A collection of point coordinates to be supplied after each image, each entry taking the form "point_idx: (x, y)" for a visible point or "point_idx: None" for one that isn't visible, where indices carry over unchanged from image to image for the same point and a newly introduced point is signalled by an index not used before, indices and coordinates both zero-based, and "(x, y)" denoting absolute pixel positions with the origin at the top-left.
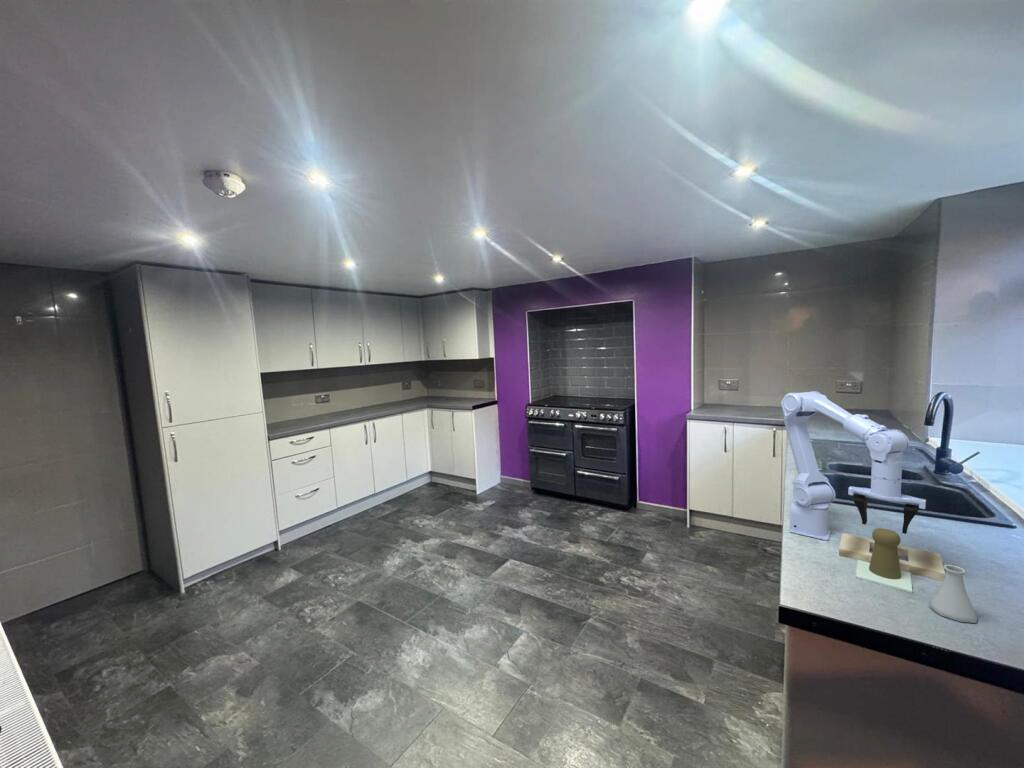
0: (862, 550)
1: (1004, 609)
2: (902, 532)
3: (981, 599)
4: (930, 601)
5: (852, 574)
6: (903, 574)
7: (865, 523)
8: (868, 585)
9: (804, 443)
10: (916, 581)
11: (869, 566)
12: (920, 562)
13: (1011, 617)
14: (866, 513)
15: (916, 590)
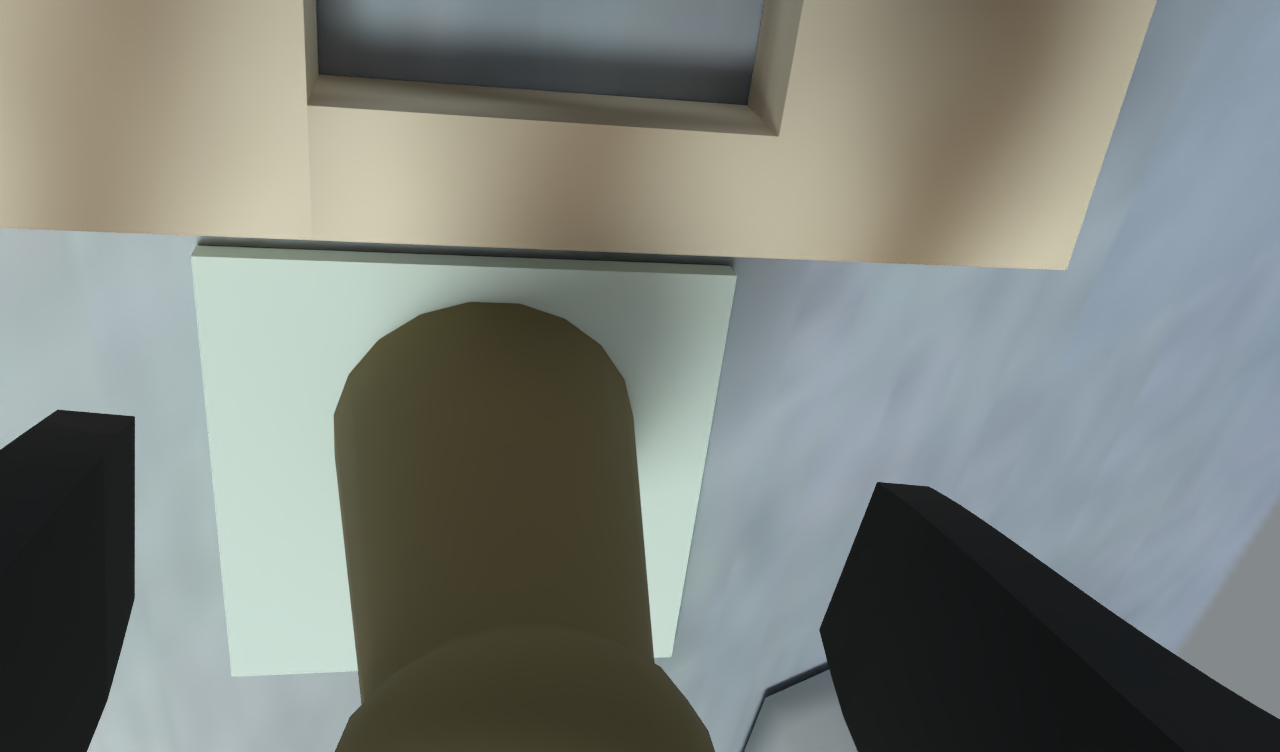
0: (209, 84)
1: (1231, 493)
2: (826, 653)
3: (1156, 424)
4: (762, 720)
5: (196, 606)
6: (661, 362)
7: (122, 641)
8: (348, 718)
9: None
10: (752, 392)
11: (336, 459)
12: (913, 75)
13: (1206, 582)
14: (20, 641)
15: (710, 572)
